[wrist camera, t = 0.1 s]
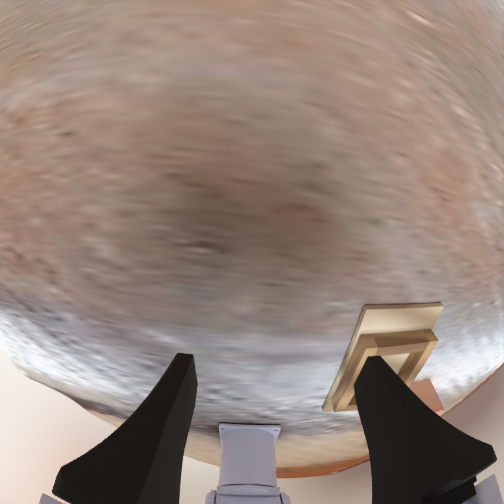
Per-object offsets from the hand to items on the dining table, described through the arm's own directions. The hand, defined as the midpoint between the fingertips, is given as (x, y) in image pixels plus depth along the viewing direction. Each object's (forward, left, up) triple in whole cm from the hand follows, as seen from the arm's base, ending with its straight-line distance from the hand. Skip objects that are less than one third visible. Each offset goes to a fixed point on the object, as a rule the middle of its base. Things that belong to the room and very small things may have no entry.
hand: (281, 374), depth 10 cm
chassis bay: (-12, -13, -10) cm, 20 cm away
